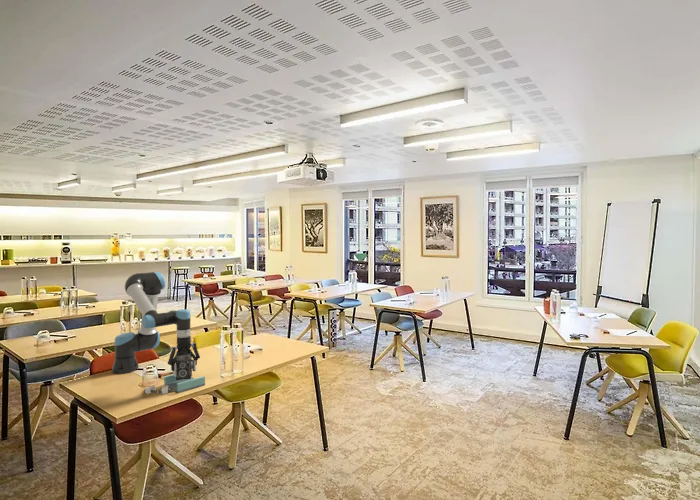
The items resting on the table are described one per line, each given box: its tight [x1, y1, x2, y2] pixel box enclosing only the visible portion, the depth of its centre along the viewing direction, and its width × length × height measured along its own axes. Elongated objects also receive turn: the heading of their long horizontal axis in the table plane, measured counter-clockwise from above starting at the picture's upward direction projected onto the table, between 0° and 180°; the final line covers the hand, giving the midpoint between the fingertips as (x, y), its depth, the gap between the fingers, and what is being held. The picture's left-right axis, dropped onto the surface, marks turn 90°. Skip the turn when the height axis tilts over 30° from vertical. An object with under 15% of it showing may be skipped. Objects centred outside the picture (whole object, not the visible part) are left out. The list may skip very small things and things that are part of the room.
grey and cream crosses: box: [143, 388, 173, 394], centre depth 236 cm, size 16×4×1 cm, turn 87°
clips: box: [144, 384, 170, 395], centre depth 236 cm, size 13×5×3 cm, turn 87°
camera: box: [174, 351, 194, 380], centre depth 246 cm, size 10×10×15 cm
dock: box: [163, 374, 206, 394], centre depth 247 cm, size 18×16×5 cm
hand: (184, 373), depth 246 cm, fingers closed on camera, 11 cm apart
